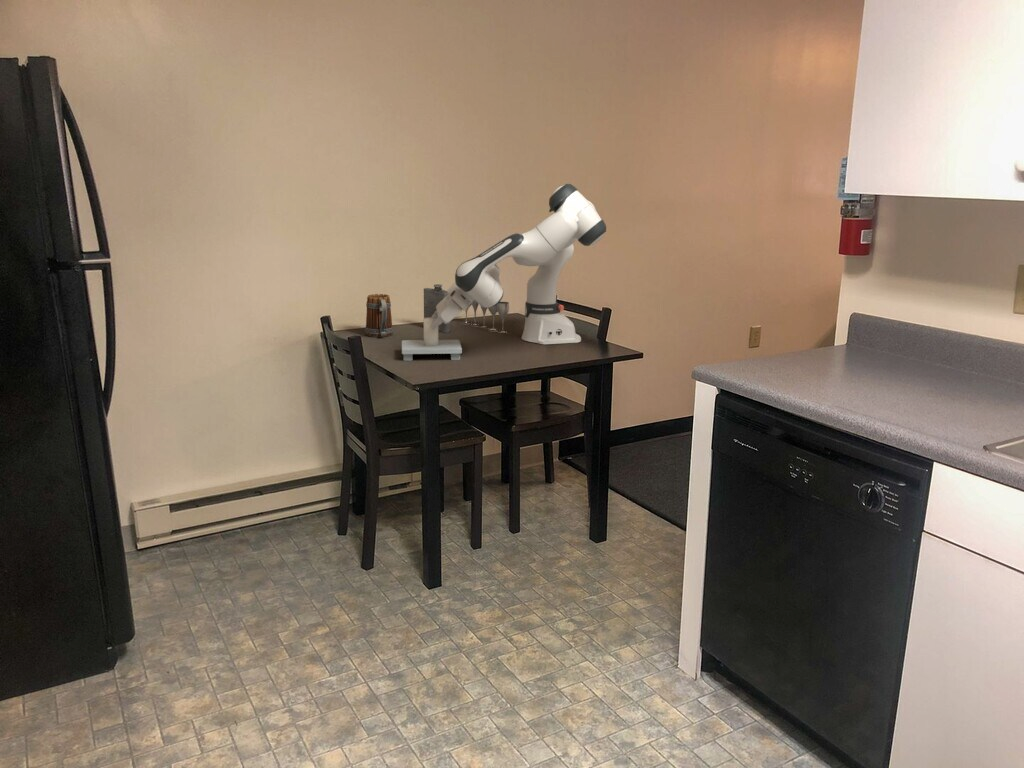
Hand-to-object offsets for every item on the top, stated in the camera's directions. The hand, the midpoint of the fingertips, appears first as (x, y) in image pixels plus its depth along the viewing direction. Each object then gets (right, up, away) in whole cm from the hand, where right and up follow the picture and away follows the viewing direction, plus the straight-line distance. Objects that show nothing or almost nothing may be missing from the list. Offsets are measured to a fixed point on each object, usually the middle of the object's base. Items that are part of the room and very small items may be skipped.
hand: (430, 324), depth 275 cm
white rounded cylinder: (0, -7, +2) cm, 7 cm away
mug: (-22, -2, +31) cm, 38 cm away
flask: (-2, +1, +44) cm, 44 cm away
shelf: (0, -10, +3) cm, 11 cm away
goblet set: (+16, +2, +50) cm, 52 cm away
